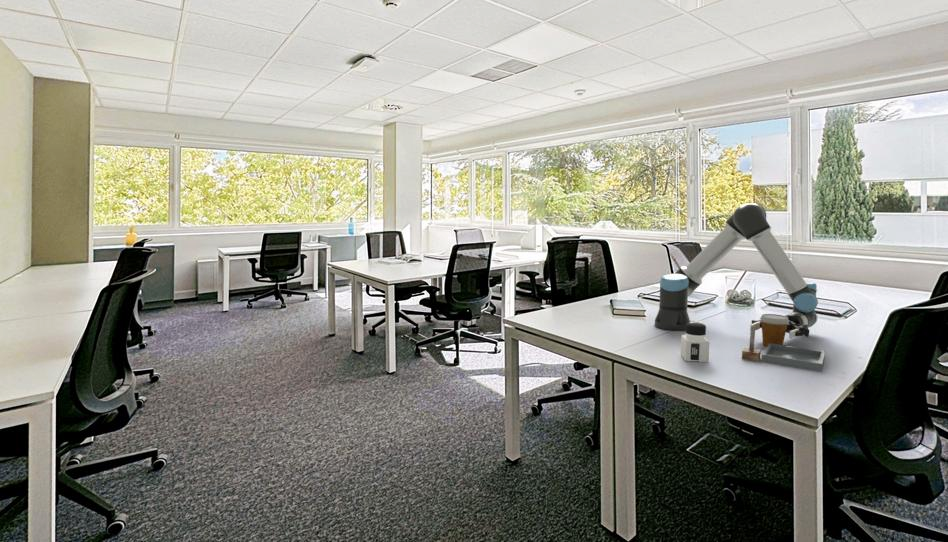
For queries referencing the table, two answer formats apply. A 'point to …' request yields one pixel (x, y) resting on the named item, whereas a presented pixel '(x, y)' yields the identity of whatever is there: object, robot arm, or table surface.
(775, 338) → the disposable coffee cup
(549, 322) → the table surface
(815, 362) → the tray
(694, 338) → the container
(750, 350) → the stand
